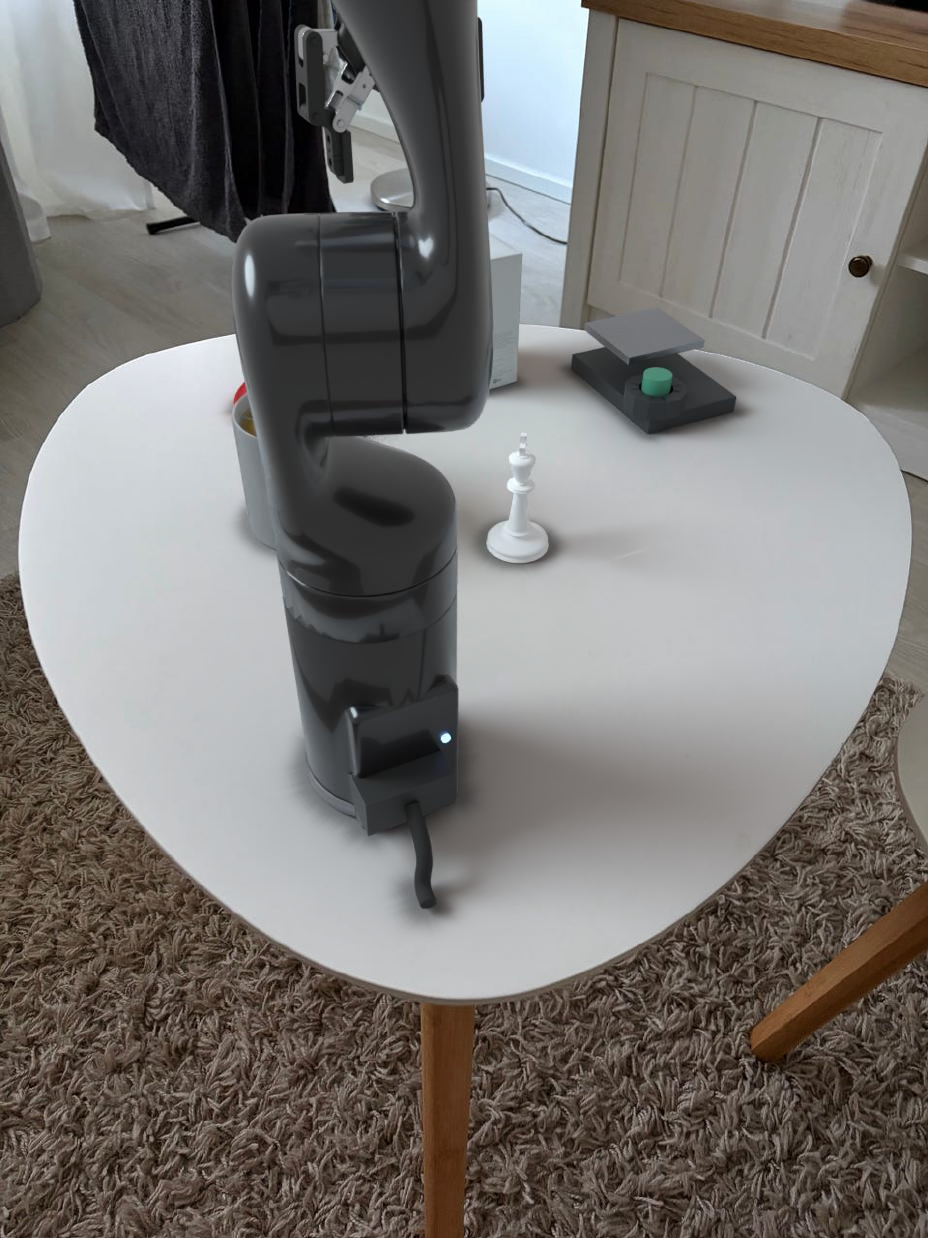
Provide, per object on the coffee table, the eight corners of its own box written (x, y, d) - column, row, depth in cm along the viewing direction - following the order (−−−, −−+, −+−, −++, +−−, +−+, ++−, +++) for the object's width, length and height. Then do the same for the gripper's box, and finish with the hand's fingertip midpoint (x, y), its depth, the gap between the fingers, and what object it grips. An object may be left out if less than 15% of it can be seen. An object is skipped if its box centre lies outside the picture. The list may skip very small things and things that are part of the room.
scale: (738, 416, 93) (746, 382, 91) (642, 441, 90) (647, 407, 87) (651, 350, 103) (656, 318, 101) (561, 371, 100) (564, 338, 97)
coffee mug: (371, 552, 77) (364, 441, 70) (243, 556, 77) (223, 445, 70) (371, 459, 87) (365, 354, 80) (258, 462, 87) (242, 357, 80)
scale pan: (703, 347, 95) (705, 339, 94) (628, 365, 92) (629, 357, 91) (656, 314, 100) (657, 306, 99) (584, 330, 97) (584, 322, 97)
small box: (518, 383, 98) (524, 252, 89) (462, 398, 95) (463, 265, 87) (477, 349, 103) (479, 223, 94) (423, 363, 101) (420, 235, 92)
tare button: (675, 394, 90) (678, 377, 89) (651, 400, 89) (654, 383, 88) (659, 382, 92) (661, 364, 90) (635, 387, 91) (638, 370, 90)
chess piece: (549, 527, 80) (558, 419, 73) (547, 565, 76) (556, 454, 69) (489, 523, 80) (492, 415, 73) (483, 561, 76) (486, 450, 70)
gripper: (305, -65, 61) (327, 201, 72) (505, -78, 66) (498, 174, 77) (267, -81, 66) (293, 171, 77) (455, -92, 71) (455, 147, 82)
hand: (395, 172), depth 77 cm, fingers open, 8 cm apart
